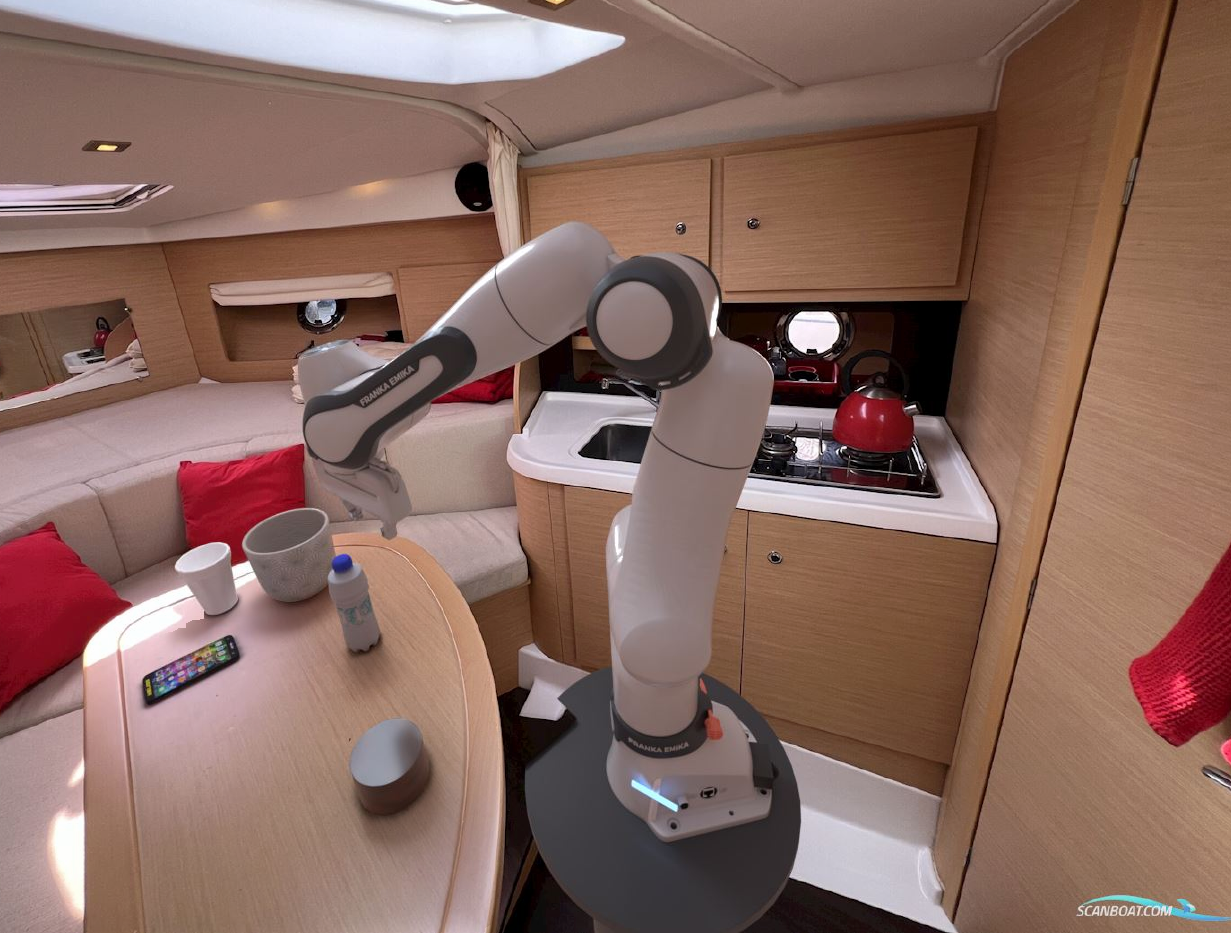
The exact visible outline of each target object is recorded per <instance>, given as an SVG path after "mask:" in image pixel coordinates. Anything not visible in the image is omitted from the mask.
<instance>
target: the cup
mask: <svg viewBox="0 0 1231 933" xmlns="http://www.w3.org/2000/svg"><path fill="white" fill-rule="evenodd" d="M231 560H232V550H231V547H230V545H229V544H227V543H225V542H220V541H217V542H209V543H206V544H203V545H200V546H197V547H194V548H193V549H191V550H188V551H187V552H186V553H184V554H183V555H182V556H180V558H178V559H177V561H176V562H175V565H174V570H175V571H176V573H177V574H178V576H179V577H180V579H182V581H183V582H184V583H185V585H186V586H187V587H188V589H189V590H190V592H191V593H192V595H193V596H194V598H195V599H196V600H197V602H198V603H199V605H200V607H201V608H202V609H203V610H204V612H205V613H206V615H209V616H218V615H220V614H223V613H225V612H227V611H229V610H231V609H232V608H234V607H235V605H236V604H237V603H238V600H239V597H238V593H237V588H236V584H235V583H236V582H235V578H234V573H233V568H232V563H231Z"/></svg>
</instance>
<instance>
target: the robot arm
mask: <svg viewBox="0 0 1231 933" xmlns="http://www.w3.org/2000/svg"><path fill="white" fill-rule="evenodd" d="M720 285H721V284H720V283H719V280H718V278H717V276H716V274H715V273H714V272H713V271H712V270H711V268H710V267H709V266H708V265H706V264H705V263H704V262H702V261H701V260H699V258H696V257H694V256H691V255H688V254H682V253H675V252H668V251H657V252H651V253H646V254H642V255H641V254H639V255H633V256H631V257H630V258H628V259H626V258H624V257H622V256H620V255H619V253H618V252H617V251H616V249H615V247H614V246H613V245H612V243H611V242H610V240H609V239H608V237H606V236H605V235H604V234H603V233H602V232H601V231H600V230H599V229H598V228H596V227H594V226H592V225H591V224H588V223H586V222H582V221H568V222H564V223H562V224H560V225H558V226H556V227H554V228H552V229H550V230H548V231H546V232H544V233H542V234H540V235H539V236H537V237H535V238H533V239H531V240H529V241H527V242H526V243H524V244H523V245H522V246H520V247H518V248H517V249H515V250H514V251H512V252H510V253H509V254H508V255H506V256H505V257H504V258H503V259H501V260H500V261H499V262H497V263H496V264H494V265H493V266H492V267H491V268H490V269H489V270H488V271H486V272H485V273H484V274H483V275H482V276H481V277H480V278H478V280H476V282H474V283H473V284H472V286H470V287H469V288H468V289H467V290H466V291H465V292H464V293H463V294H462V295H461V296H460V297H459V298H458V299H457V301H456V302H455V303H454V304H452V306H451V307H449V309H448V310H447V311H445V313H443V315H442V316H440V318H439V319H437V321H435V322H434V324H432V326H430V327H429V328H428V329H427V330H426V331H425V332H424V333H423V334H422V335H421V336H420V337H419V338H417V340H416V341H415V342H414V343H413V344H412V345H410V347H408V348H406V349H405V350H403V351H402V352H401V353H400V354H399V355H397V356H395V358H393V359H392V360H388V359H384V358H380V357H379V356H376V355H373V354H370V353H368V352H366V351H364V350H363V349H361V347H359V346H358V345H357V344H356V343H355V342H354V341H353V340H350V339H337V340H333V341H330V342H326V343H324V344H320V345H317V346H314V347H313V348H310V349H308V350H305V351H304V352H303V353H302V354H301V355H300V356H299V357H298V360H297V376H298V383H299V388H300V392H301V396H302V399H303V404H304V411H303V413H302V414H303V416H302V424H301V425H302V435H303V439H304V442H305V444H304V448H305V451H306V454H307V455H308V456H309V457H310V458H311V461H312V464H313V465H312V466H313V468H314V470H315V473H316V476H317V479H318V481H319V483H320V485H321V486H322V488H323V489H324V491H326V492H327V493H328V494H331V495H333V496H335V497H337V498H338V499H339V501H340V503H341V504H342V506H343V508H344V509H345V511H346V513H347V516H348V519H349V520H350V521H353V522H358V521H359V520H362V519H363V518H364V513H363V511H364V512H366V513H369V514H370V515H372V516H374V517H375V518H378V519H380V522H381V523H383V525H382V527H380V528H379V530H380V534H381V536H382V537H383V538H384V539H386V540H388V541H391V540H393V539H395V538H396V537H397V535H398V530H397V529H398V528H397V523H399V522H401V521H403V520H404V519H406V518H407V517H409V516H410V515H411V513H412V511H413V505H412V502H411V498H410V496H409V492H408V489H407V486H406V484H405V480H404V479H403V477H402V474H401V473H400V472H399V470H398V469H396V468H395V467H393V466H391V464H390V463H389V462H388V461H386V460H382V458H383V457H384V455H385V448H386V447H387V446H389V445H391V444H392V443H393V442H395V441H396V440H398V439H399V438H400V437H401V436H403V435H404V434H405V433H407V432H408V431H409V430H411V429H412V428H413V427H415V426H416V425H418V424H419V423H421V421H423V419H424V418H425V417H426V416H428V414H429V412H430V410H431V408H432V407H431V406H432V402H433V401H435V400H437V399H439V398H440V397H442V396H444V395H446V394H448V393H450V392H453V391H455V390H457V389H458V388H461V387H464V386H466V385H468V384H471V383H473V382H475V381H479V380H480V379H483V378H486V377H488V376H491V375H492V374H496V373H497V372H500V371H503V370H505V369H507V368H511V367H513V366H515V365H518V364H519V363H522V362H524V361H527V360H528V359H530V358H533V357H535V356H537V355H539V354H541V353H542V352H545V351H547V350H548V349H550V348H551V347H553V346H555V345H556V344H557V343H560V342H561V341H562V340H564V339H565V338H566V337H568V336H569V335H571V334H574V333H575V332H577V331H578V330H580V329H583V328H586V331H587V334H588V338H589V339H590V342H591V344H592V346H593V347H594V349H595V350H596V351H597V352H598V354H599V355H600V356H601V357H602V358H603V359H605V361H606V362H608V363H609V364H610V365H612V366H614V367H616V368H617V369H619V370H621V371H623V372H624V373H627V374H629V375H631V376H634V378H636V379H637V380H639V381H640V382H642V383H643V384H644V385H646V386H647V387H649V388H650V389H652V390H655V391H661V392H660V398H659V403H658V407H657V410H656V413H655V417H654V418H653V423H652V425H651V429H650V431H649V435H648V439H647V442H646V446H645V449H644V452H643V455H642V458H641V462H640V465H639V469H638V471H637V474H636V478H635V482H634V485H633V490H632V496H631V503H630V504H628V505H626V506H625V507H623V508H622V509H620V511H618V512H617V513H616V515H615V516H614V517H613V519H612V522H611V525H610V528H609V531H608V535H607V540H606V544H605V567H606V569H605V570H606V586H607V602H608V619H609V620H608V621H609V636H610V637H609V638H610V653H611V654H610V655H611V666H612V674H613V689H612V693H611V701H610V712H611V724H612V730H613V733H614V735H613V741H612V745H611V747H610V750H609V753H608V757H607V765H606V767H607V776H608V780H609V784H610V786H611V788H612V791H613V792H614V794H615V796H616V797H617V799H618V800H619V801H620V802H621V803H622V805H623V806H624V807H625V808H627V809H628V810H629V811H630V812H632V813H633V814H635V815H636V816H638V817H639V818H641V819H642V820H644V821H645V822H646V823H647V825H648V826H649V827H650V829H651V830H652V831H653V833H654V834H655V835H656V836H657V837H658V838H659V839H660V840H661V841H663V842H672V841H676V840H680V839H684V838H688V837H692V836H696V835H700V834H704V833H708V832H713V831H717V830H721V829H725V828H729V827H733V826H737V825H741V824H745V823H749V822H753V821H757V820H761V819H764V818H767V817H768V815H769V812H770V809H771V802H772V792H771V789H773V780H775V779H776V778H777V777H778V775H779V770H778V768H777V767H776V766H775V765H774V764H773V763H772V762H771V758H770V752H769V746H768V744H764V743H757V741H756V739H755V738H754V736H753V735H752V733H751V732H750V731H749V729H748V728H747V727H746V726H745V725H744V724H743V723H742V722H741V721H740V720H738V718H737V716H736V715H735V714H734V712H733V711H732V710H731V709H729V708H728V707H727V706H725V705H722V704H719V703H717V702H714V701H712V700H711V699H710V696H709V695H707V692H706V688H705V685H704V683H703V681H702V679H701V678H700V688H701V689H699V688H698V676H699V675H700V674H702V673H704V672H705V671H706V669H707V668H708V666H709V664H710V662H711V659H712V654H713V653H712V650H713V626H714V625H713V624H714V615H715V614H714V613H715V608H716V601H717V596H718V590H719V586H720V582H721V574H722V569H723V563H724V557H725V552H726V545H727V539H728V535H729V530H730V527H731V522H732V519H733V517H734V513H735V510H736V508H737V505H738V503H739V500H740V498H741V495H742V492H743V490H744V487H745V485H746V482H747V480H748V477H749V475H750V472H751V469H752V467H753V465H754V461H755V459H756V456H757V454H758V451H759V449H760V448H759V447H760V445H761V442H762V439H763V435H764V433H765V429H766V424H767V420H768V418H769V412H770V406H771V404H772V403H771V402H772V396H773V389H774V384H775V383H774V381H775V379H774V372H773V370H772V367H771V365H770V363H769V362H768V360H767V359H766V358H765V357H763V356H762V354H760V353H759V352H758V351H757V350H755V349H754V348H752V347H750V346H748V345H746V344H745V343H741V342H739V341H735V340H730V338H728V337H727V336H725V335H724V334H723V333H722V332H721V330H720V328H719V326H718V325H717V323H718V321H719V318H720V316H721V312H722V307H723V294H722V293H723V292H722V289H721V286H720ZM659 383H660V385H658V384H659ZM747 737H748V738H747ZM761 792H765V793H766V795H763V794H761ZM731 815H732V816H731ZM671 826H675V827H676V828H677V829H675V830H673V829H672V828H671Z"/></svg>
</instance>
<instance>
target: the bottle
mask: <svg viewBox="0 0 1231 933" xmlns="http://www.w3.org/2000/svg"><path fill="white" fill-rule="evenodd" d="M332 567H333V570H332V571H331V572H330V573H329V575H328V584H327V586H328V593H329V596H330V599H331V601H332V602H333V603H334V605H335V608H336V612H337V616H338V617H339V621H340V624H341V630H342V634H343V638H344V642H345V644H346V646H347V647H348V648H349V649H351V651H353V652H354V653H359V652H360V650H363V651H364V652H367V651H369V650H370V646H371V645H372V646H376V645H377V644H378V642H379V641H378V640H379V637H380V633H381V630H380V626H379V622H378V619H377V617H376V614H375V611H374V608H373V604H372V600H371V596H370V592H369V587H370V585H369V580H368V577H367V575H366V574H365V571H364V569H363V567H362V565H361V564H359V563H358V562H353V558H352V557H351V556H350V554H348V553H341V554H338V555H336V557H335V558H334V559H333V561H332Z"/></svg>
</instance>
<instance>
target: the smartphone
mask: <svg viewBox="0 0 1231 933" xmlns="http://www.w3.org/2000/svg"><path fill="white" fill-rule="evenodd" d="M240 657H241V654H240V650H239V648H238V646H237V643H236V640H235V638H234V636H233V635H232V634H228V635H227V634H226V636H223V637H221V638H219V639H216V640H214V641H212V642H210V643H208V644H206V645H204V646H202V647H200V648H198V649H196V650H194V651H192V652H189V653H187V654H186V655H184V656H182V657H179V658H177V659H176V660H173V661H171V662H169V663H167V664H165V665H163V666H161V667H159V668H157V669H154V670H153V671H150V672H149V673H147V674H146V675H144V676H143V678H142V680H141V682H142V690H143V698H144V702H145V703H146V704H147V705H151V704H155V703H156V702H159V701H160V700H162V699H164V698H166V697H168V696H170V695H172V694H174V693H175V692H178V691H180V690H181V689H184V688H185V687H187V686H190V685H191V684H194V683H195V682H197V681H199V680H201V679H203V678H205V677H207V676H209V675H210V674H213V673H214V672H216V671H218V670H220V669H222V668H225V667H226V666H228V665H230V664H231V663H234V662H236V661H238V659H240Z"/></svg>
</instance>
